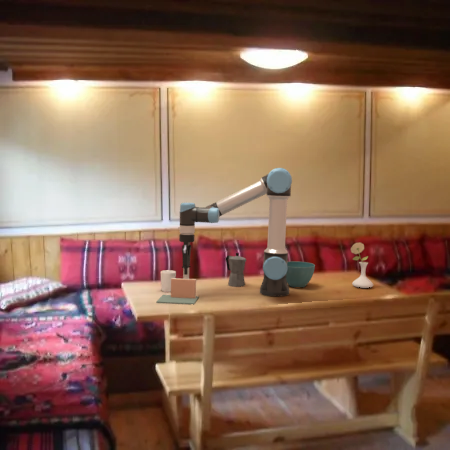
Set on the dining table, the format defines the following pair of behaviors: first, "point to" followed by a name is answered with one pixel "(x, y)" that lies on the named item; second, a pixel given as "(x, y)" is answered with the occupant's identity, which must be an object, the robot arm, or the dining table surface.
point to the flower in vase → (362, 280)
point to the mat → (176, 300)
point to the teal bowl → (299, 273)
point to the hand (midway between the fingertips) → (186, 280)
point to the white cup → (167, 280)
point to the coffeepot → (236, 270)
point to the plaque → (183, 288)
